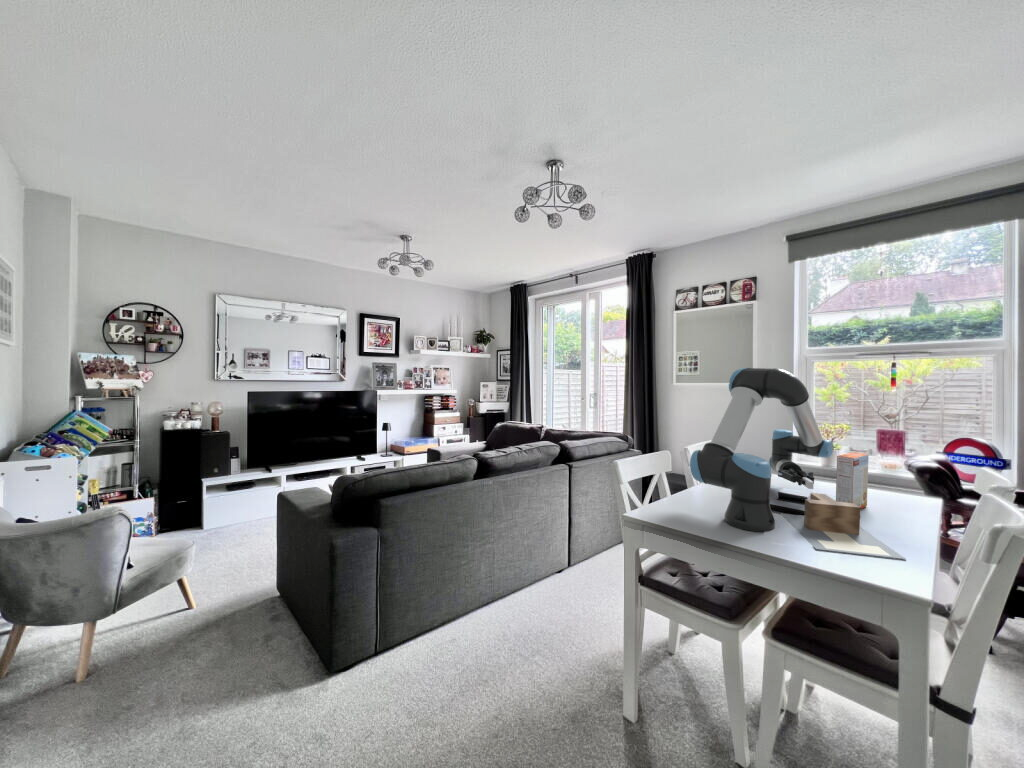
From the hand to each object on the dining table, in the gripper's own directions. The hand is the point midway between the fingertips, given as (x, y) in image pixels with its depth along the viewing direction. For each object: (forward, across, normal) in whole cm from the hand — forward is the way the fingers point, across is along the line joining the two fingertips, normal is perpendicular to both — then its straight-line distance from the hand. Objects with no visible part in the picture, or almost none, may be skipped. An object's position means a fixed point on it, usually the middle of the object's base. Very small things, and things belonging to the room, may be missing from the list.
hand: (811, 485), depth 159 cm
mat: (+21, 0, -10) cm, 24 cm away
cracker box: (-12, -18, -11) cm, 24 cm away
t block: (+14, 0, -10) cm, 17 cm away
